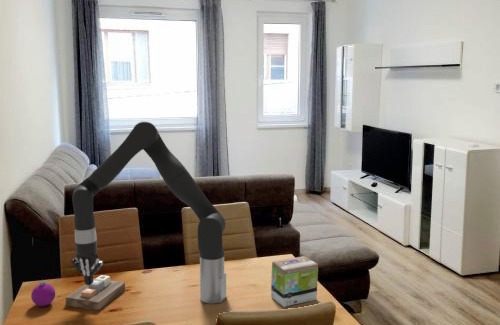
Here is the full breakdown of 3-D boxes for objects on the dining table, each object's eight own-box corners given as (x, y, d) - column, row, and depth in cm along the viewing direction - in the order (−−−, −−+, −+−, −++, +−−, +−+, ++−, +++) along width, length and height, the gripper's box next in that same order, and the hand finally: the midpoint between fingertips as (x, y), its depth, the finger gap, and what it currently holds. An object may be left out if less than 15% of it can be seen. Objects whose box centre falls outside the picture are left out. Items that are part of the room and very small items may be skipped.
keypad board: (125, 289, 188) (124, 282, 187) (98, 310, 171) (98, 302, 170) (94, 285, 192) (94, 278, 191) (66, 305, 174) (65, 297, 174)
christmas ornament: (34, 301, 178) (32, 276, 176) (57, 298, 180) (55, 274, 178) (30, 311, 170) (28, 285, 168) (54, 308, 172) (52, 282, 170)
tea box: (284, 308, 173) (284, 270, 170) (270, 297, 182) (270, 261, 179) (317, 299, 180) (318, 263, 177) (303, 289, 188) (303, 254, 186)
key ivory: (110, 283, 186) (110, 275, 186) (104, 288, 182) (104, 279, 182) (101, 282, 187) (101, 274, 187) (95, 286, 183) (95, 278, 183)
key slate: (103, 288, 182) (103, 280, 181) (97, 292, 178) (97, 284, 178) (94, 287, 183) (94, 279, 182) (88, 291, 179) (88, 283, 179)
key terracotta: (97, 296, 178) (96, 288, 177) (90, 301, 174) (90, 293, 174) (88, 295, 179) (87, 287, 178) (81, 300, 175) (81, 291, 175)
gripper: (107, 237, 174) (110, 282, 177) (76, 235, 178) (79, 278, 181) (95, 244, 167) (98, 290, 170) (63, 241, 171) (67, 286, 174)
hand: (88, 284), depth 175 cm, fingers closed
